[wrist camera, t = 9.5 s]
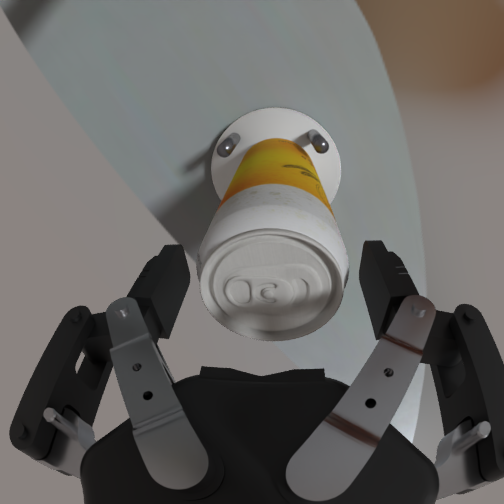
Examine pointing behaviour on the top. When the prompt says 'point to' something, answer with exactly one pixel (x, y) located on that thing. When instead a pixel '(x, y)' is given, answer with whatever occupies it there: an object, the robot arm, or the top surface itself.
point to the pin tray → (276, 126)
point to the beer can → (273, 248)
